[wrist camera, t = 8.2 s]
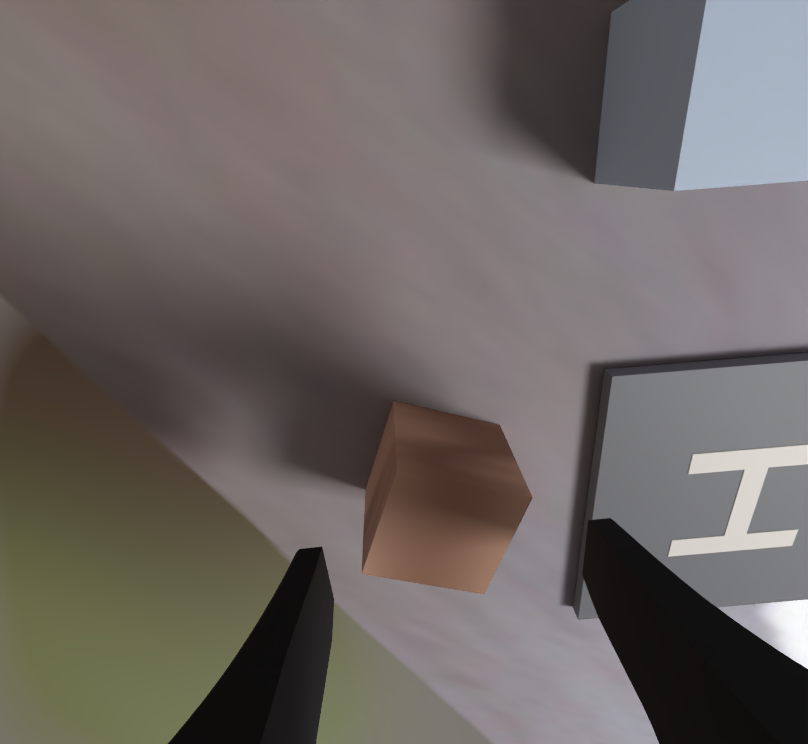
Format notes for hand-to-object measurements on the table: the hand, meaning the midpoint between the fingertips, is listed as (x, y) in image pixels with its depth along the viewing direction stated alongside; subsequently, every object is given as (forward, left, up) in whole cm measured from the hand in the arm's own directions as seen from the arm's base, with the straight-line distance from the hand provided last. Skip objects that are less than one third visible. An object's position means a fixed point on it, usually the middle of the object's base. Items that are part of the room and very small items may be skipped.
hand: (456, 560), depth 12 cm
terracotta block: (0, 0, -5) cm, 5 cm away
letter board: (-12, +3, -5) cm, 13 cm away
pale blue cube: (-7, -11, -5) cm, 14 cm away
